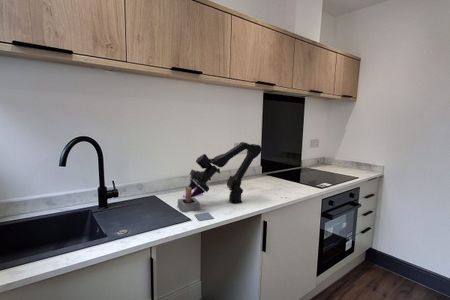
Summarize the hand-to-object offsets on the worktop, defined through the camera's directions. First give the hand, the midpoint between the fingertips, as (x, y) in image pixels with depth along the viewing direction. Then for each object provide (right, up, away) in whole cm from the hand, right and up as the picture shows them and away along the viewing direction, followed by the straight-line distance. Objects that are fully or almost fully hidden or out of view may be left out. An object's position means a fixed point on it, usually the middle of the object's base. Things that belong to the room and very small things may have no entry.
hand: (189, 194), depth 137 cm
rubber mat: (+9, -10, -11) cm, 17 cm away
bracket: (-1, -5, +22) cm, 23 cm away
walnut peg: (0, -8, +1) cm, 8 cm away
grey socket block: (0, -8, +1) cm, 8 cm away
